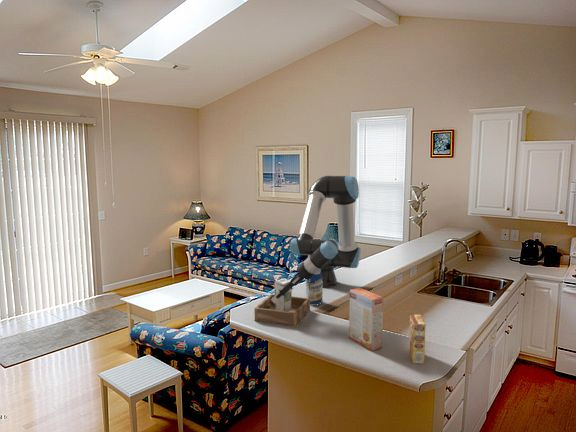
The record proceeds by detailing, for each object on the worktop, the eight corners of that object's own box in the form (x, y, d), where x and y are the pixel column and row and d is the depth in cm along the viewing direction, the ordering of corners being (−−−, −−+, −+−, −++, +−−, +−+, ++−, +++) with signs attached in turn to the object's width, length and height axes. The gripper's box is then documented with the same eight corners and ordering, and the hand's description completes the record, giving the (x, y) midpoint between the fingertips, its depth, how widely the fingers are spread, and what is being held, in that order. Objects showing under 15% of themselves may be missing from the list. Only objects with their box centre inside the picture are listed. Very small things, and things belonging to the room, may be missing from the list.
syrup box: (282, 307, 201) (282, 278, 199) (292, 310, 198) (291, 280, 195) (274, 311, 197) (273, 281, 195) (284, 314, 193) (283, 283, 191)
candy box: (424, 364, 153) (426, 324, 150) (412, 363, 153) (414, 323, 151) (419, 352, 161) (421, 314, 159) (408, 352, 162) (409, 314, 159)
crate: (271, 305, 210) (271, 293, 209) (310, 310, 203) (310, 298, 202) (254, 320, 192) (254, 308, 191) (296, 327, 185) (296, 314, 184)
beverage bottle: (320, 299, 218) (320, 261, 214) (324, 305, 210) (324, 266, 206) (304, 300, 216) (304, 262, 213) (308, 306, 208) (308, 267, 205)
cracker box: (382, 348, 165) (384, 296, 162) (370, 351, 162) (372, 299, 159) (359, 334, 177) (360, 286, 174) (348, 337, 174) (349, 289, 171)
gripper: (308, 281, 180) (273, 312, 188) (320, 268, 198) (288, 297, 206) (296, 267, 181) (262, 299, 189) (310, 256, 199) (278, 285, 207)
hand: (276, 298), depth 198 cm, fingers closed on syrup box, 7 cm apart
